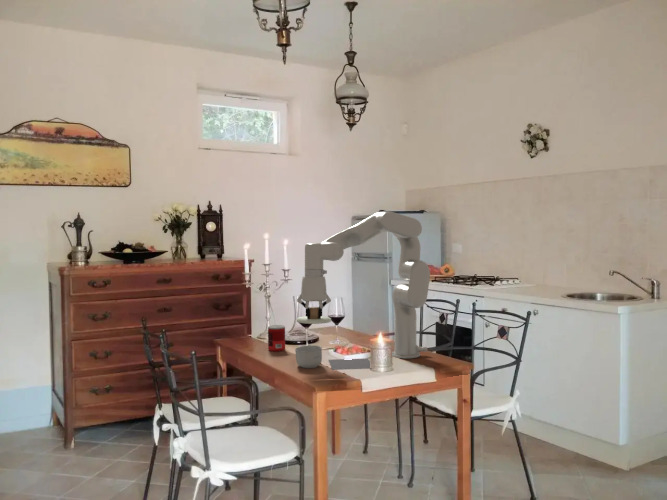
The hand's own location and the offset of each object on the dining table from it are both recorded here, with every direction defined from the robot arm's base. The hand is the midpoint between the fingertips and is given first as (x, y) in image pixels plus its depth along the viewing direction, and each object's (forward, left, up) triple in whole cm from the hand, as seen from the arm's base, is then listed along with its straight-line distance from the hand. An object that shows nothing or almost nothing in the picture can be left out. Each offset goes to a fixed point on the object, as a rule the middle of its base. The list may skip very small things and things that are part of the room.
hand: (313, 317), depth 241 cm
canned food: (+15, -33, -20) cm, 42 cm away
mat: (-15, 0, -20) cm, 25 cm away
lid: (0, 0, -1) cm, 1 cm away
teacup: (+2, 0, -20) cm, 20 cm away
